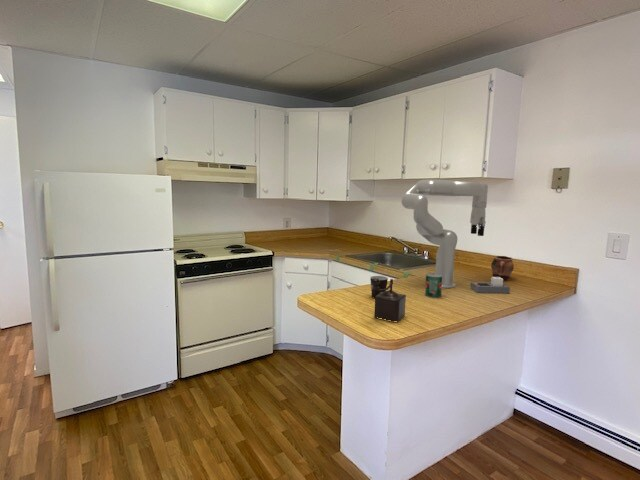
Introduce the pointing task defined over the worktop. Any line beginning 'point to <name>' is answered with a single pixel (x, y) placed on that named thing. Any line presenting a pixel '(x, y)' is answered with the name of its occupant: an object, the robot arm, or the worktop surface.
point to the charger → (496, 281)
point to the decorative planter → (502, 267)
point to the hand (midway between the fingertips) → (477, 234)
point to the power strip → (489, 288)
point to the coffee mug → (381, 286)
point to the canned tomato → (433, 285)
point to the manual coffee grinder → (388, 302)
